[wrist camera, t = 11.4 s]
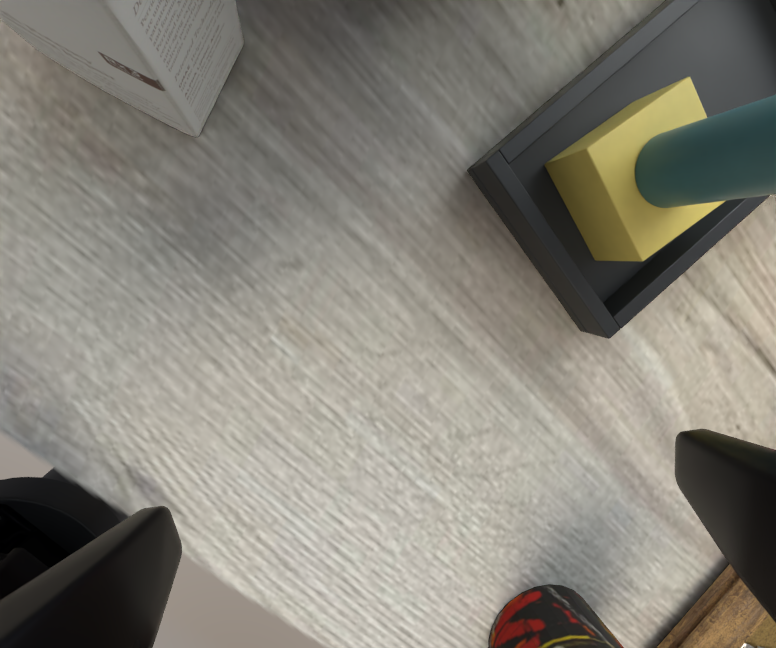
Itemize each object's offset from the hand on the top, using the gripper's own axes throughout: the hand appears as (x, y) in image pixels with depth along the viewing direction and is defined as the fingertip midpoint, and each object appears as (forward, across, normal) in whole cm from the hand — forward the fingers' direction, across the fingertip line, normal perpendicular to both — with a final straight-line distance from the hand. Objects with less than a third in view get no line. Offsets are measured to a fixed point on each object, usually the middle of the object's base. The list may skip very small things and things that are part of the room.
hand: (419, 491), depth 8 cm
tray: (+16, -13, -5) cm, 21 cm away
